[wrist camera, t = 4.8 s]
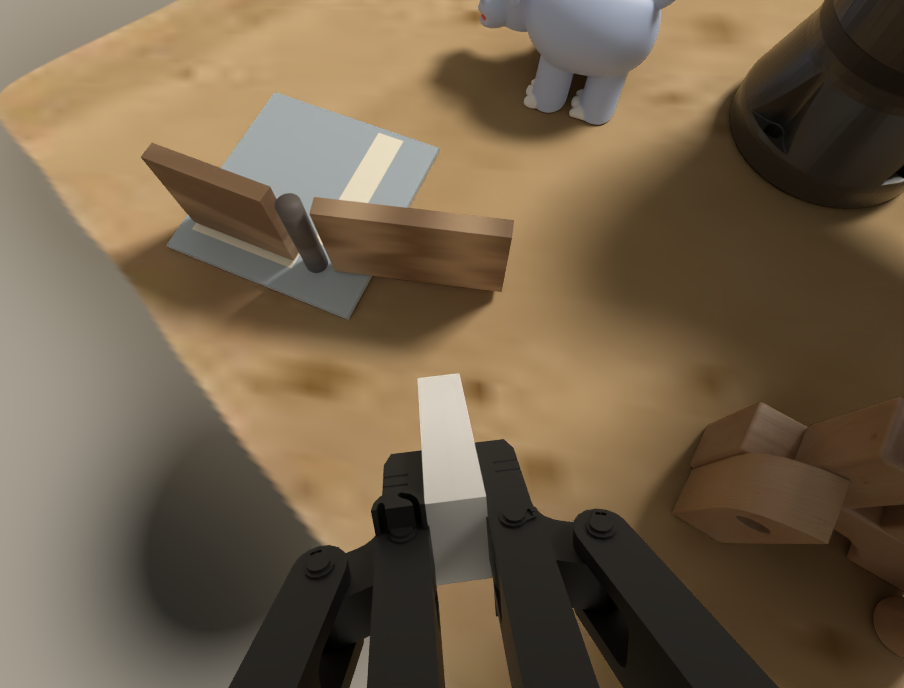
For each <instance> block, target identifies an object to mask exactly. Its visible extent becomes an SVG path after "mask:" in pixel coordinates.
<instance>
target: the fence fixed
mask: <svg viewBox="0 0 904 688" xmlns="http://www.w3.org/2000/svg"><path fill="white" fill-rule="evenodd" d="M141 158H142V159H143V160H144V162H145V163H146V164H147V165H148V167H149V168H150V169H151V170H152V171H153V173H154V174H155V175H156V176H157V178H158V179H159V180H160V181H161V182H162V184H163V185H164V186H165V187H166V189H167V190H168V191H169V192H170V193H171V195H172V196H173V197H174V198H175V200H176V201H177V202H178V203H179V204H180V206H181V207H182V208H183V209H184V211H185V212H186V213H187V214H188V215H189V217H190V218H191V219H192V220H193V222H196V223H198V224H201V225H203V226H206V227H208V228H211V229H214V230H216V231H219V232H221V233H224V234H226V235H229V236H232V237H234V238H237V239H239V240H242V241H244V242H247V243H249V244H252V245H255V246H257V247H260V248H262V249H265V250H267V251H270V252H273V253H275V254H278V255H280V256H283V257H285V258H288V259H290V260H293V261H294V260H295V258H296V256H297V255H298V253H299V254H300V256H301V258H302V260H303V262H304V263H305V265H306V267H307V269H308V270H309V271H310V272H313V273H320V272H322V271H324V270H325V269H326V268H327V266H328V259H327V257H326V255H325V253H324V250H323V248H322V246H321V244H320V241H319V239H318V237H317V235H316V233H315V230H314V228H313V226H312V224H311V221H310V219H309V217H308V215H307V213H306V210H305V208H304V206H303V204H302V202H301V199H300V198H299V196H297V195H296V194H293V193H286V194H283V195H281V196H280V197H278V198H277V199H276V197H275V195H274V193H273V191H272V189H271V187H270V186H268V185H265V184H262V183H259V182H257V181H254V180H251V179H249V178H246V177H243V176H241V175H238V174H235V173H232V172H230V171H227V170H224V169H222V168H219V167H216V166H213V165H211V164H208V163H205V162H203V161H200V160H197V159H195V158H192V157H189V156H186V155H184V154H181V153H178V152H176V151H173V150H170V149H168V148H165V147H162V146H159V145H157V144H154V143H151V145H150V146H149V147H148V148H147V150H146V151H145V152H144V153H143V155H142V156H141Z"/></svg>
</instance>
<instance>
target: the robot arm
mask: <svg viewBox="0 0 904 688" xmlns="http://www.w3.org/2000/svg"><path fill="white" fill-rule="evenodd" d="M730 125H731V130H732V134H733V137H734V140H735V142H736V144H737V146H738V148H739V150H740V151H741V153H742V155H743V156H744V157H745V159H746V160H747V161H748V162H749V164H750V165H751V166H752V167H753V168H754V169H755V170H756V171H757V172H758V173H759V174H760V175H761V176H763V177H764V178H765V179H766V180H768V181H769V182H770V183H772V184H773V185H775V186H776V187H778V188H780V189H781V190H783V191H785V192H787V193H789V194H791V195H793V196H795V197H798V198H800V199H803V200H805V201H808V202H812V203H815V204H819V205H823V206H829V207H836V208H862V207H869V206H874V205H877V204H881V203H884V202H886V201H889V200H891V199H893V198H895V197H896V196H898V195H899V194H901V193H902V192H903V191H904V0H825V1H824V2H823V3H822V5H821V6H820V7H819V8H818V9H817V10H816V11H815V12H814V13H813V14H811V15H810V16H809V17H808V18H807V19H805V20H804V21H803V22H802V23H801V24H800V25H798V26H797V27H796V28H795V29H794V30H793V31H791V32H790V33H789V34H788V35H787V36H786V37H784V38H783V39H782V40H781V41H780V42H779V43H777V44H776V45H775V46H774V47H773V48H772V49H770V50H769V51H768V52H767V53H766V54H765V55H763V56H762V57H761V58H760V59H759V60H758V61H757V62H756V63H755V64H754V66H753V67H752V68H751V69H750V71H749V72H748V74H747V76H746V77H745V79H744V80H743V82H742V83H741V85H740V87H739V88H738V90H737V91H736V93H735V95H734V97H733V100H732V103H731V108H730ZM418 395H419V412H420V430H421V448H422V450H421V451H413V452H405V453H397V454H391V455H390V457H389V458H388V460H387V461H386V463H385V464H384V473H383V491H382V496H380V497H379V498H378V499H377V500H376V501H375V502H374V504H373V507H372V509H371V513H372V519H373V524H374V529H375V534H376V535H375V537H374V538H373V539H372V540H371V541H369V542H368V543H367V544H365V545H364V546H362V547H360V548H358V549H355V550H353V551H350V552H348V553H345V552H344V551H342V550H341V549H340V548H339V547H335V546H331V545H327V546H318V547H316V548H314V549H311V550H309V551H307V552H306V553H304V554H303V555H301V556H300V557H299V559H298V560H297V561H296V562H295V564H294V565H293V567H292V568H291V570H290V572H289V574H288V576H287V578H286V580H285V582H284V584H283V586H282V587H281V589H280V592H279V593H278V595H277V597H276V599H275V601H274V603H273V604H272V606H271V608H270V610H269V612H268V614H267V616H266V618H265V620H264V622H263V623H262V625H261V627H260V629H259V631H258V633H257V635H256V637H255V639H254V640H253V642H252V644H251V646H250V648H249V650H248V652H247V654H246V656H245V657H244V660H243V661H242V663H241V665H240V667H239V669H238V671H237V673H236V675H235V676H234V678H233V681H232V682H231V684H230V686H229V688H349V687H350V684H351V681H352V678H353V675H354V672H355V669H356V665H357V662H358V659H359V656H360V653H361V650H362V647H363V643H364V638H366V637H368V636H370V646H369V663H368V680H367V688H445V679H444V666H443V653H442V640H441V627H440V614H439V602H438V595H437V586H436V585H443V584H450V583H458V582H465V581H472V580H480V579H487V578H492V576H493V582H494V595H495V609H496V616H498V617H499V622H500V628H501V633H502V638H503V644H504V649H505V654H506V660H507V665H508V670H509V676H510V681H511V686H512V688H599V685H598V682H597V679H596V676H595V674H594V671H593V668H592V665H591V662H590V659H589V656H588V653H587V650H586V647H585V644H584V641H583V638H582V635H581V632H580V629H579V626H578V623H577V621H576V618H575V615H574V612H573V609H572V608H574V610H575V613H576V614H577V616H578V618H579V619H580V621H581V622H582V624H583V625H584V627H585V628H586V630H587V632H588V633H589V635H590V636H591V638H592V639H593V641H594V642H595V644H596V646H597V647H598V649H599V650H600V652H601V653H602V655H603V656H604V658H605V660H606V661H607V663H608V664H609V666H610V667H611V669H612V670H613V672H614V674H615V675H616V677H617V678H618V680H619V681H620V683H621V684H622V686H623V688H778V687H777V686H776V684H775V683H774V682H773V681H772V680H771V679H770V678H769V677H768V676H767V675H766V674H765V672H764V671H763V670H762V669H761V668H760V667H759V666H758V665H757V664H756V663H755V662H754V660H753V659H752V658H751V657H750V656H749V655H748V654H747V653H746V652H745V651H744V650H743V648H742V647H741V646H740V645H739V644H738V643H737V642H736V641H735V640H734V639H733V638H732V637H731V635H730V634H729V633H728V632H727V631H726V630H725V629H724V628H723V627H722V626H721V625H720V623H719V622H718V621H717V620H716V619H715V618H714V617H713V616H712V615H711V614H710V613H709V611H708V610H707V609H706V608H705V607H704V606H703V605H702V604H701V603H700V602H699V601H698V599H697V598H696V597H695V596H694V595H693V594H692V593H691V592H690V591H689V590H688V589H687V588H686V586H685V585H684V584H683V583H682V582H681V581H680V580H679V579H678V578H677V577H676V576H675V574H674V573H673V572H672V571H671V570H670V569H669V568H668V567H667V566H666V565H665V564H664V562H663V561H662V560H661V559H660V558H659V557H658V556H657V555H656V554H655V553H654V552H653V550H652V549H651V548H650V547H649V546H648V545H647V544H646V543H645V542H644V541H643V540H642V539H641V537H640V536H639V535H638V534H637V533H636V532H635V531H634V530H633V529H632V528H631V527H630V525H629V524H628V523H627V522H626V521H625V520H624V519H623V518H621V517H620V516H619V515H617V514H616V513H613V512H611V511H608V510H603V509H591V510H586V511H584V512H582V513H580V514H578V516H577V517H576V519H575V520H574V522H566V521H559V520H554V519H551V518H548V517H546V516H544V515H542V514H541V513H539V511H538V510H537V508H536V507H534V506H533V504H532V502H531V499H530V496H529V493H528V490H527V487H526V484H525V481H524V478H523V475H522V472H521V470H520V466H519V463H518V461H517V457H516V454H515V451H514V448H513V447H512V446H511V445H510V444H508V443H507V442H506V441H505V440H504V439H501V440H493V441H485V442H477V443H474V438H473V434H472V429H471V425H470V420H469V416H468V411H467V406H466V402H465V397H464V393H463V388H462V383H461V379H460V374H459V373H457V374H449V375H440V376H432V377H423V378H418Z"/></svg>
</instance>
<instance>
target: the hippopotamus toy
mask: <svg viewBox="0 0 904 688" xmlns="http://www.w3.org/2000/svg"><path fill="white" fill-rule="evenodd" d="M674 1H675V0H480V3H479V6H478V9H479V11H480V12H481V13H482V14H481V17H480V22H481V24H482V25H483V26H485V27H487V28H500V27H503V26H505V27H507V28H509V29H512V30H515V31H520V32H528V34H529V36H530V39H531V41H532V43H533V45H534V46H535V48H536V49H537V51H538V52H539V53H540V54H541V57H540V61H539V65H538V69H537V73H536V78H535V79H533V80H532V81H531V85H529V86H528V87H527V89H526V94H527V96H526V97H525V99H524V105H525V106H527V107H528V108H536V109H538V110H539V111H541V112H545V113H551V112H555V111H557V110H559V109H561V108H562V107H563V105H564V104H565V102H566V99H567V96H568V92H569V89H570V85H571V81H572V78H573V74H574V73H575V74H579V75H585V76H588V77H587V80H586V84H585V87H584V89H580V90H578V91H577V92H576V95H577V96H574V97H573V98H572V100H571V105H572V107H573V108H572V109H571V110H570V111H569V115H570V116H571V117H573V118H577V119H581V120H584V121H586V122H587V123H590V124H595V125H600V124H604V123H606V122H608V121H609V120H610V119H611V118H612V116H613V114H614V111H615V108H616V106H617V103H618V100H619V97H620V94H621V91H622V88H623V85H624V83H625V80H626V77H627V74H628V72H629V71H631V70H633V69H634V68H636V67H637V66H638V65H640V64H641V63H642V62H643V61H644V60H645V59H646V57H647V56H648V55H649V53H650V51H651V50H652V48H653V46H654V43H655V41H656V38H657V35H658V32H659V27H660V21H661V9H662V8H665V7H667V6H668V5H670V4H671V3H673V2H674Z"/></svg>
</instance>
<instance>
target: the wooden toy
mask: <svg viewBox="0 0 904 688" xmlns="http://www.w3.org/2000/svg"><path fill="white" fill-rule="evenodd" d="M690 466H691V467H692V468H693V469H692V470H691V472H690V474H689V477H688V479H687V481H686V483H685V485H684V487H683V489H682V491H681V494H680V496H679V498H678V500H677V502H676V505H675V507H674V509H673V511H672V514H674V515H675V516H677V517H678V518H680V519H682V520H683V521H685V522H687V523H688V524H690V525H691V526H693V527H695V528H696V529H698V530H700V531H701V532H703V533H705V534H706V535H708V536H710V537H711V538H713V539H715V540H716V541H718V542H720V543H760V544H828V543H829V540H830V537H831V535H832V532H833V529H835V530H836V531H838V532H839V533H841V534H842V535H844V536H845V537H847V538H848V539H849V540H850V541H851V545H850V548H849V551H848V554H847V558H848V559H849V560H851V561H852V562H854V563H856V564H857V565H859V566H861V567H862V568H864V569H866V570H868V571H869V572H871V573H873V574H874V575H876V576H878V577H880V578H881V579H883V580H885V581H886V582H888V583H890V584H892V585H893V586H895V587H897V588H898V589H900V590H902V591H904V397H896V398H893V399H890V400H887V401H884V402H881V403H878V404H875V405H872V406H869V407H865V408H862V409H859V410H856V411H853V412H850V413H847V414H844V415H841V416H838V417H834V418H831V419H828V420H825V421H822V422H819V423H816V424H813V425H810V426H809V427H807V426H805V425H803V424H801V423H800V422H798V421H796V420H794V419H792V418H790V417H789V416H787V415H785V414H783V413H781V412H779V411H778V410H776V409H774V408H772V407H770V406H768V405H767V404H765V403H762V402H758V403H756V404H754V405H752V406H749V407H747V408H745V409H743V410H740V411H738V412H736V413H734V414H732V415H729V416H727V417H725V418H723V419H721V420H718V421H716V422H714V423H712V424H710V425H708V426H707V427H706V429H705V431H704V434H703V436H702V438H701V440H700V442H699V444H698V446H697V449H696V451H695V453H694V455H693V457H692V459H691V461H690ZM873 623H874V628H875V631H876V633H877V635H878V637H879V638H880V640H881V641H882V642H883V644H884V645H885V646H886V647H887V648H888V649H890V650H891V651H892V652H893V653H895V654H896V655H898V656H901V657H903V658H904V597H900V596H891V597H887V598H885V599H883V600H882V601H881V602H880V603H878V604H877V606H876V608H875V610H874V614H873Z"/></svg>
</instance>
